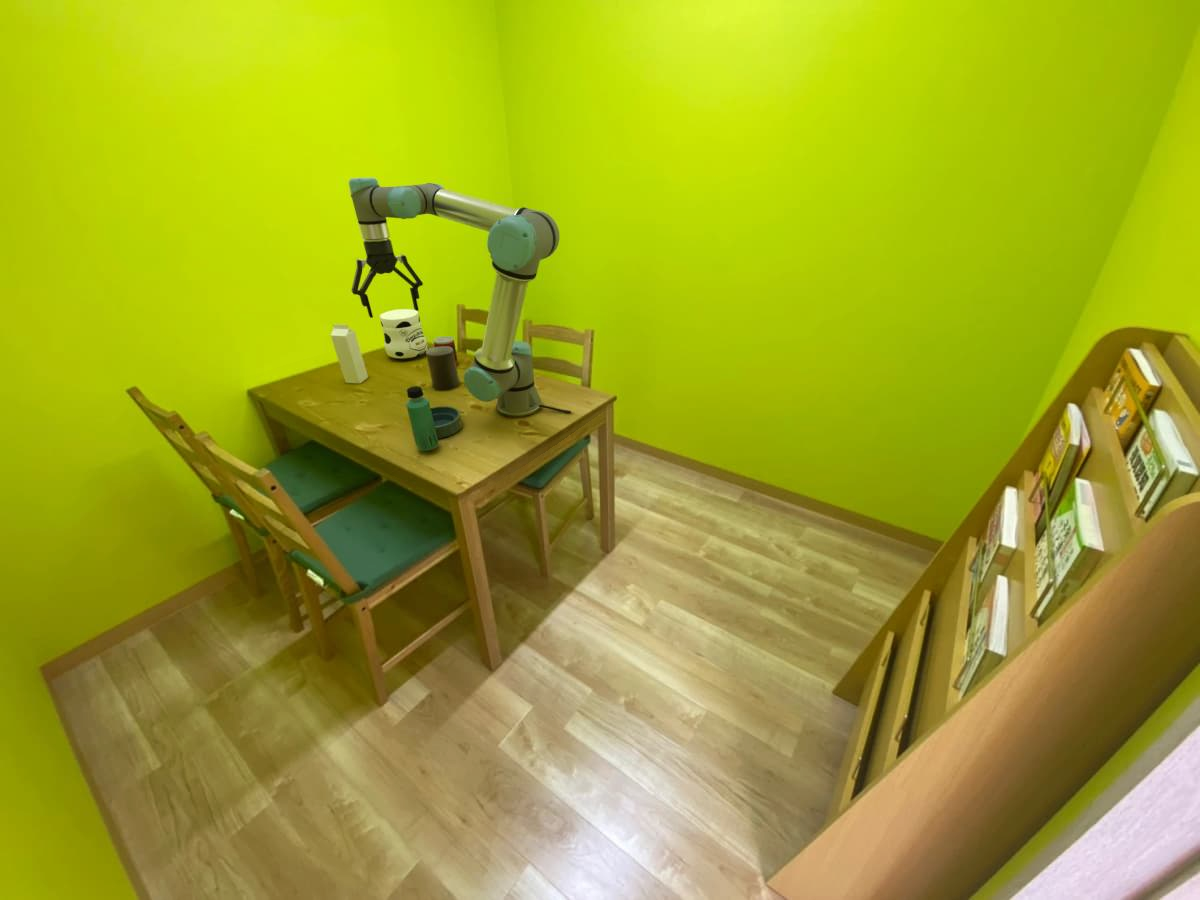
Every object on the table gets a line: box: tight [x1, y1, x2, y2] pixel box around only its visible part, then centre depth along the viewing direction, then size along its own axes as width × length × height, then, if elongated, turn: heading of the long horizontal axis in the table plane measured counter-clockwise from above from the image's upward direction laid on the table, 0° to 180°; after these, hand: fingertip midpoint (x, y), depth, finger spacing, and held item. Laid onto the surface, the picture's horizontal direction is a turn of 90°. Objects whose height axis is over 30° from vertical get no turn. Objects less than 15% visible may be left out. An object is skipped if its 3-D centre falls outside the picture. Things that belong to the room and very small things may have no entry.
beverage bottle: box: [405, 385, 439, 452], centre depth 137 cm, size 6×7×20 cm
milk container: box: [379, 308, 429, 360], centre depth 203 cm, size 17×17×18 cm
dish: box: [430, 405, 463, 439], centre depth 152 cm, size 14×14×4 cm
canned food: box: [433, 335, 459, 366], centre depth 195 cm, size 8×8×11 cm
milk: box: [330, 323, 369, 385], centre depth 180 cm, size 6×6×22 cm
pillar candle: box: [425, 346, 460, 391], centre depth 177 cm, size 10×10×15 cm
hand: (394, 313), depth 149 cm, fingers open, 13 cm apart
